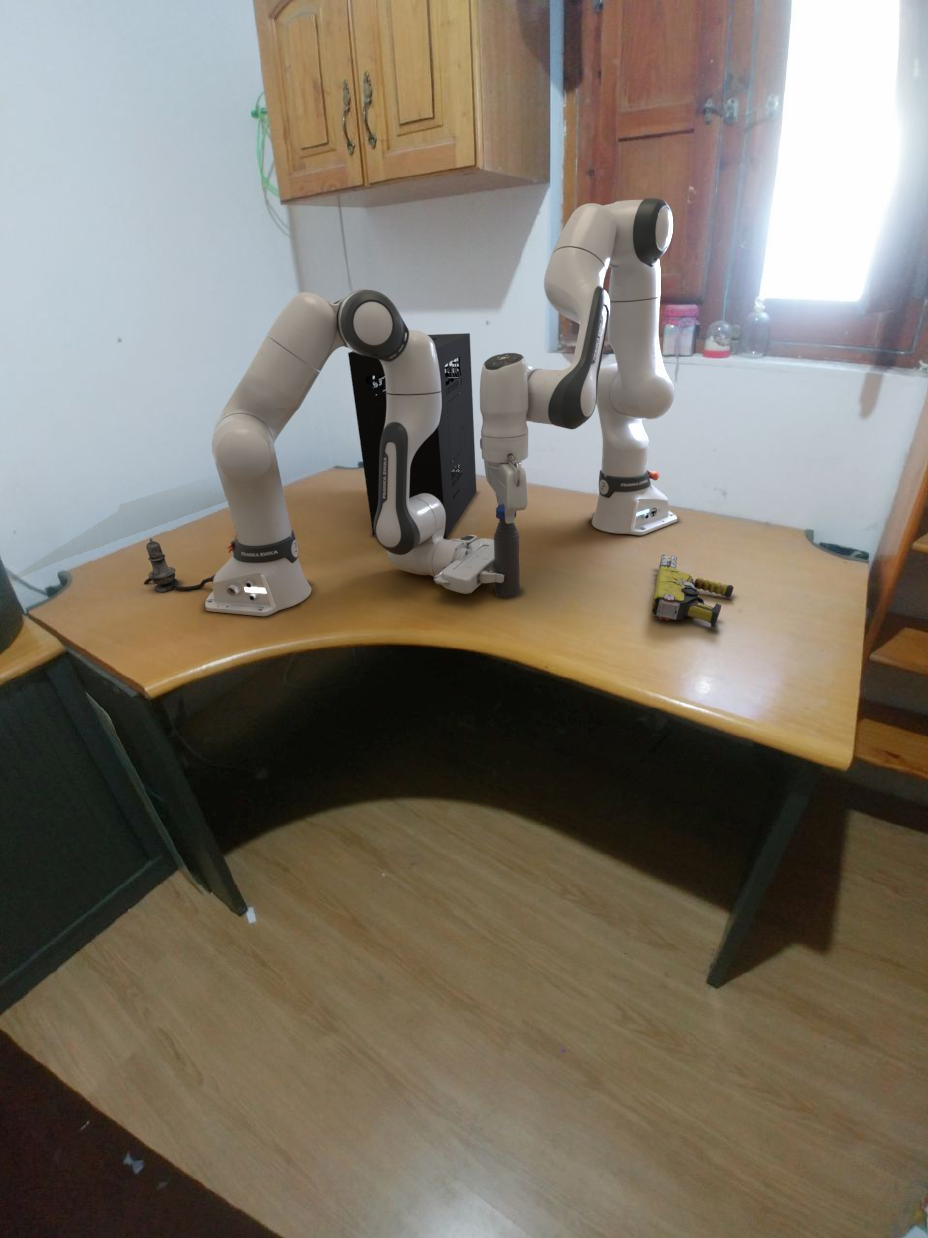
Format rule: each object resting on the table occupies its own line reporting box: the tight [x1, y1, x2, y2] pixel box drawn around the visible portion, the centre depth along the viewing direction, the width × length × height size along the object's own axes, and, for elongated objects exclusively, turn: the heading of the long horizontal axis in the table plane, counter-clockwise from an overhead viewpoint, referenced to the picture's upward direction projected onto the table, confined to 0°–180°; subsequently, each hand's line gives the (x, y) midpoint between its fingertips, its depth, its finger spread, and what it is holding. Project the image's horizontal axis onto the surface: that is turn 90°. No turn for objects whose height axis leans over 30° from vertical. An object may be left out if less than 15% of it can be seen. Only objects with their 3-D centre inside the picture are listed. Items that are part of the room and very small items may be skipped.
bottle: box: [493, 519, 521, 599], centre depth 125 cm, size 5×5×18 cm
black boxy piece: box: [347, 332, 477, 540], centre depth 163 cm, size 38×20×45 cm, turn 167°
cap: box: [495, 505, 517, 520], centre depth 120 cm, size 4×4×2 cm
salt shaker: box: [145, 538, 180, 593], centre depth 137 cm, size 6×6×12 cm
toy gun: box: [650, 553, 734, 628], centre depth 121 cm, size 5×24×15 cm
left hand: (511, 571), depth 126 cm, fingers closed on bottle, 5 cm apart
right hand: (506, 517), depth 121 cm, fingers closed on cap, 4 cm apart
